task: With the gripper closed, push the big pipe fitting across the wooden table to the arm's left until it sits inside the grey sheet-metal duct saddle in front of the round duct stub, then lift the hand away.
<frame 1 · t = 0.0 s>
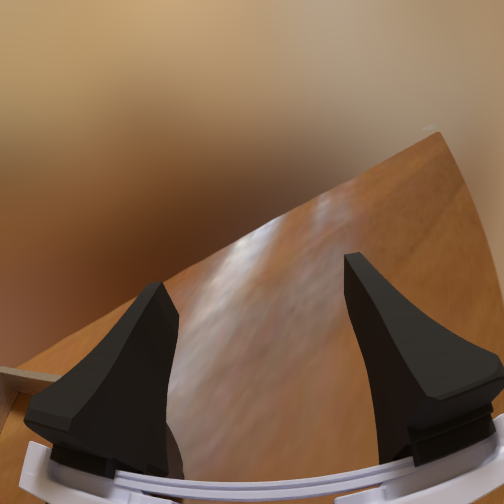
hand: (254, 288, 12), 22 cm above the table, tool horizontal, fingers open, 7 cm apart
pipe: (123, 488, 22), on the table
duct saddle: (24, 454, 23), on the table
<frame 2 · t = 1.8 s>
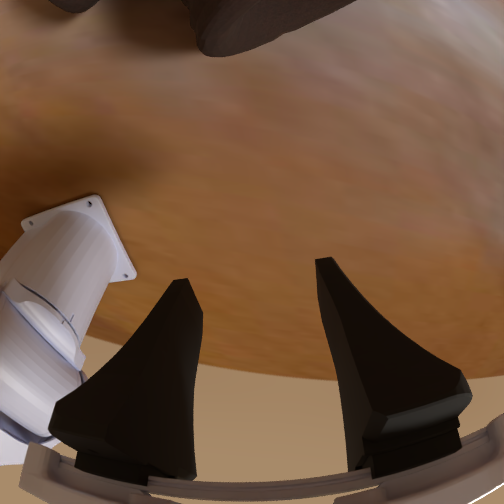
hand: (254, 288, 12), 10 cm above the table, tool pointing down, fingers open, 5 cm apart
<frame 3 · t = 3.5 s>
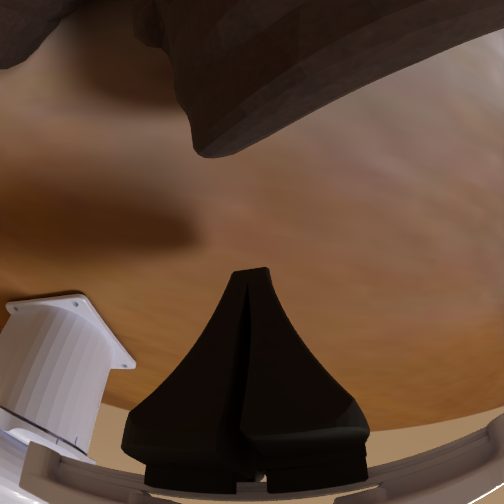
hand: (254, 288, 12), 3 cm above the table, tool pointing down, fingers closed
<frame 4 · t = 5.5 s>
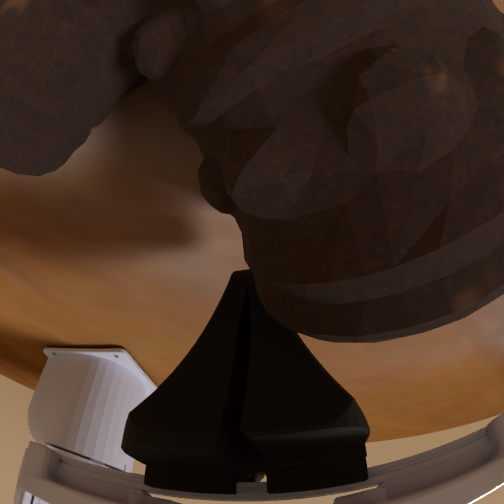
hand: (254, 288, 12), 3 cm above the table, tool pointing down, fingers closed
pipe: (232, 35, 9), on the table, touching gripper
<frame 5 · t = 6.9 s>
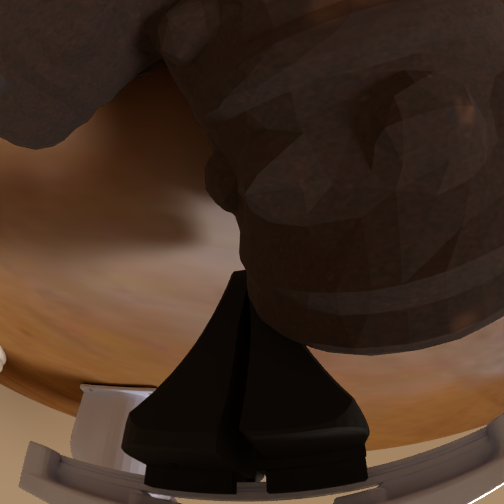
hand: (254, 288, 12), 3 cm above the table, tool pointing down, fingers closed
pipe: (250, 32, 9), on the table, touching gripper
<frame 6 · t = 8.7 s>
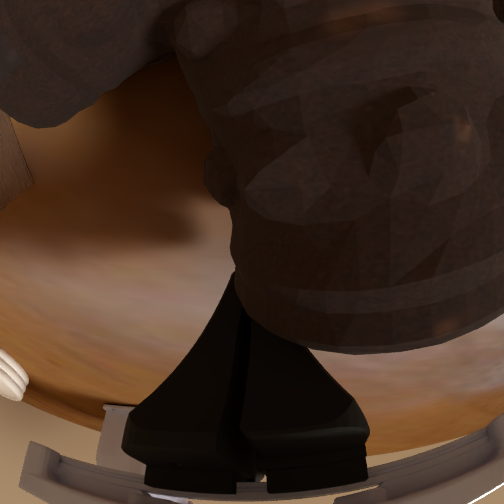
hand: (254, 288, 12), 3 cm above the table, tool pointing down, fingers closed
pipe: (259, 33, 9), on the table
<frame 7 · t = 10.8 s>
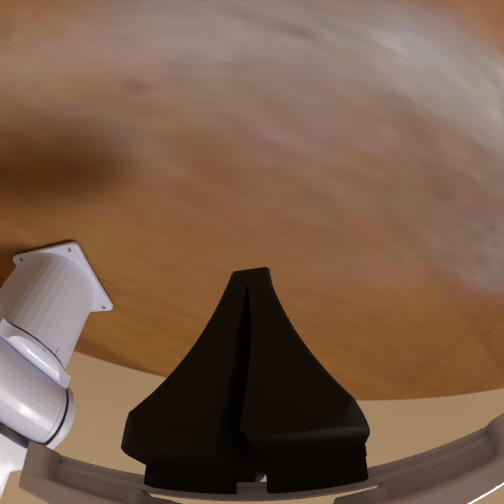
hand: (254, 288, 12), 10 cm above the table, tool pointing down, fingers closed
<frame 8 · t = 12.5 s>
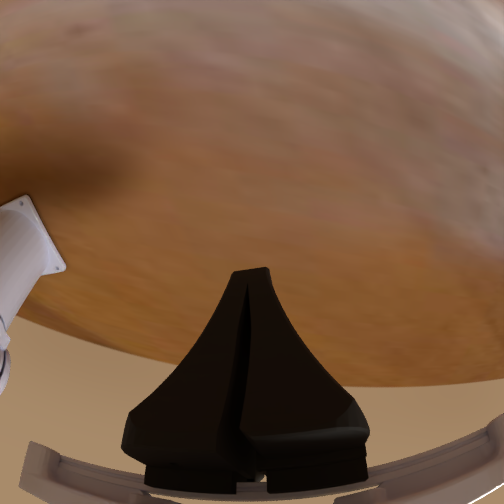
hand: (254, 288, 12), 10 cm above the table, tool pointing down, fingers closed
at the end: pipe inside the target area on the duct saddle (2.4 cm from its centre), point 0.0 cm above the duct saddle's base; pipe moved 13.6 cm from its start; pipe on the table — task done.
